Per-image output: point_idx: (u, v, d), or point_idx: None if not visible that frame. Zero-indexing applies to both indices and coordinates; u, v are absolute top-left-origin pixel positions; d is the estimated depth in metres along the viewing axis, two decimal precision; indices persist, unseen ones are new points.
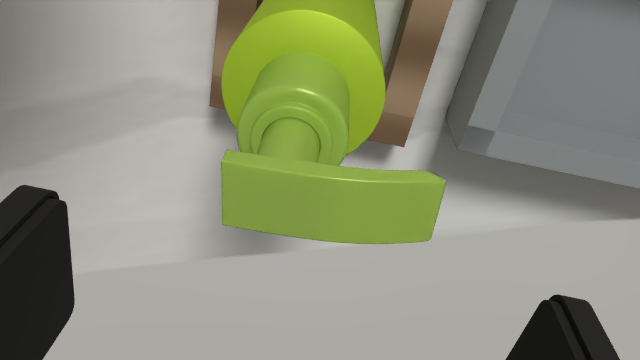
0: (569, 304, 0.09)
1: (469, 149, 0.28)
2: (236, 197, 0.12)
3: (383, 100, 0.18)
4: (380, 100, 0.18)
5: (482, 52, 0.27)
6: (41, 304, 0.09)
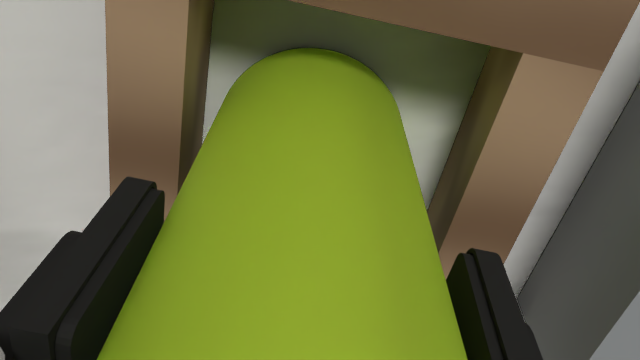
0: (479, 255, 0.10)
1: None
2: None
3: None
4: None
5: (608, 234, 0.14)
6: None
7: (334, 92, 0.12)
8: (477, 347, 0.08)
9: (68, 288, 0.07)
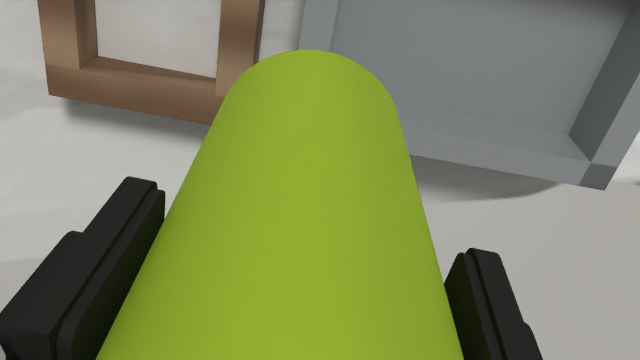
0: (479, 255, 0.10)
1: None
2: None
3: None
4: None
5: None
6: None
7: (331, 94, 0.12)
8: (477, 347, 0.08)
9: (69, 288, 0.07)
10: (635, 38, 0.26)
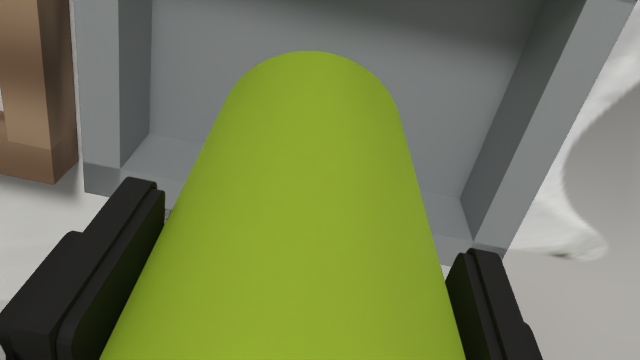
0: (479, 255, 0.10)
1: (98, 191, 0.22)
2: None
3: None
4: None
5: None
6: None
7: (334, 96, 0.12)
8: (477, 347, 0.08)
9: (69, 288, 0.07)
10: (523, 89, 0.20)
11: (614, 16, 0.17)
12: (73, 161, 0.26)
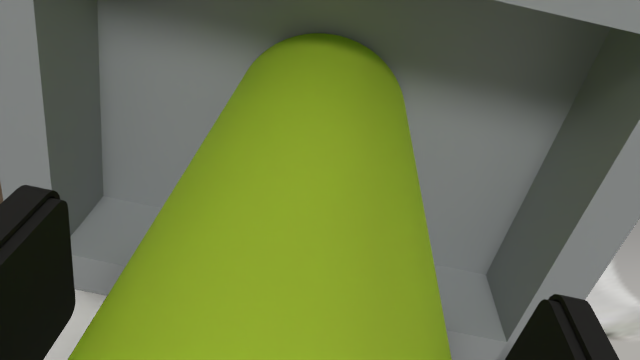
0: (568, 303, 0.09)
1: None
2: None
3: None
4: None
5: None
6: (42, 304, 0.09)
7: (337, 69, 0.13)
8: None
9: None
10: (576, 156, 0.16)
11: None
12: None
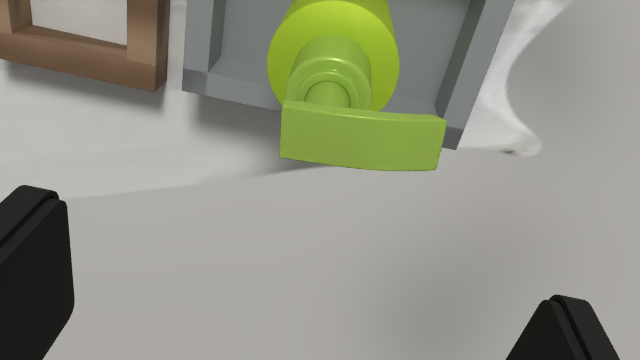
0: (569, 304, 0.09)
1: (191, 89, 0.33)
2: (291, 134, 0.16)
3: (397, 74, 0.22)
4: (395, 74, 0.22)
5: None
6: (41, 304, 0.09)
7: None
8: None
9: None
10: (471, 18, 0.31)
11: None
12: (164, 79, 0.37)
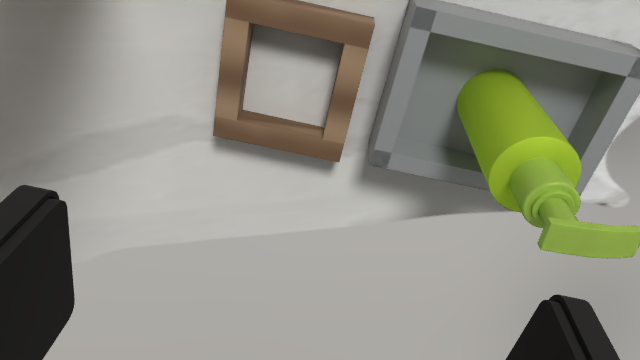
0: (569, 304, 0.09)
1: (376, 164, 0.44)
2: (552, 238, 0.27)
3: (578, 179, 0.33)
4: (576, 180, 0.33)
5: (383, 104, 0.44)
6: (41, 304, 0.09)
7: (515, 84, 0.40)
8: None
9: None
10: (592, 115, 0.43)
11: (637, 85, 0.39)
12: None
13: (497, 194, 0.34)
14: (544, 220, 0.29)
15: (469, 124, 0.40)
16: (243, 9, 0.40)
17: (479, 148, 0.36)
